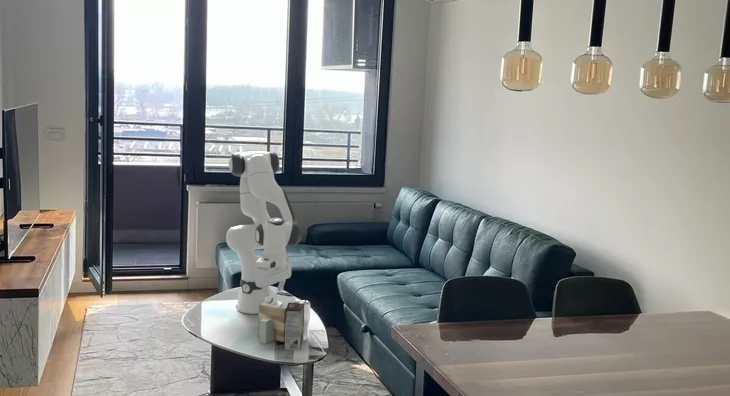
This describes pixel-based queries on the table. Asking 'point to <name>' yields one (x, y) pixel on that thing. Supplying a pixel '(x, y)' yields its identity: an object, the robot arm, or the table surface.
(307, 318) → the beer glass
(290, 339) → the coffee box
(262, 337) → the sage stand plate
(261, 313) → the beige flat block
